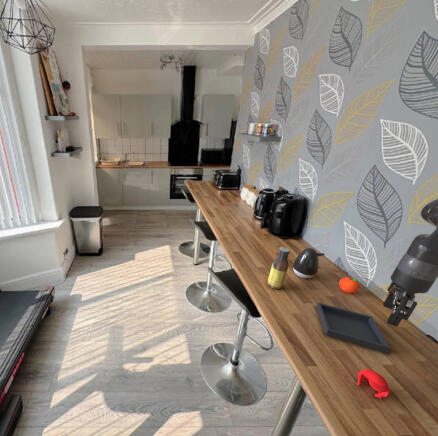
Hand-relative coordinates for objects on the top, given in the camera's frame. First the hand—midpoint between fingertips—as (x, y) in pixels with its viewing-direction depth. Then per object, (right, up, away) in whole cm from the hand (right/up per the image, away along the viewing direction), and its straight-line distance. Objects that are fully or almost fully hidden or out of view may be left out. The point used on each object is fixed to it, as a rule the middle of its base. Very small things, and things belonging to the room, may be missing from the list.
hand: (389, 315), depth 71 cm
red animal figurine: (-9, -20, -3) cm, 22 cm away
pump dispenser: (+4, +1, +46) cm, 46 cm away
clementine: (+18, -4, +36) cm, 40 cm away
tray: (+2, -12, +17) cm, 21 cm away
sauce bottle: (-15, -2, +38) cm, 40 cm away
